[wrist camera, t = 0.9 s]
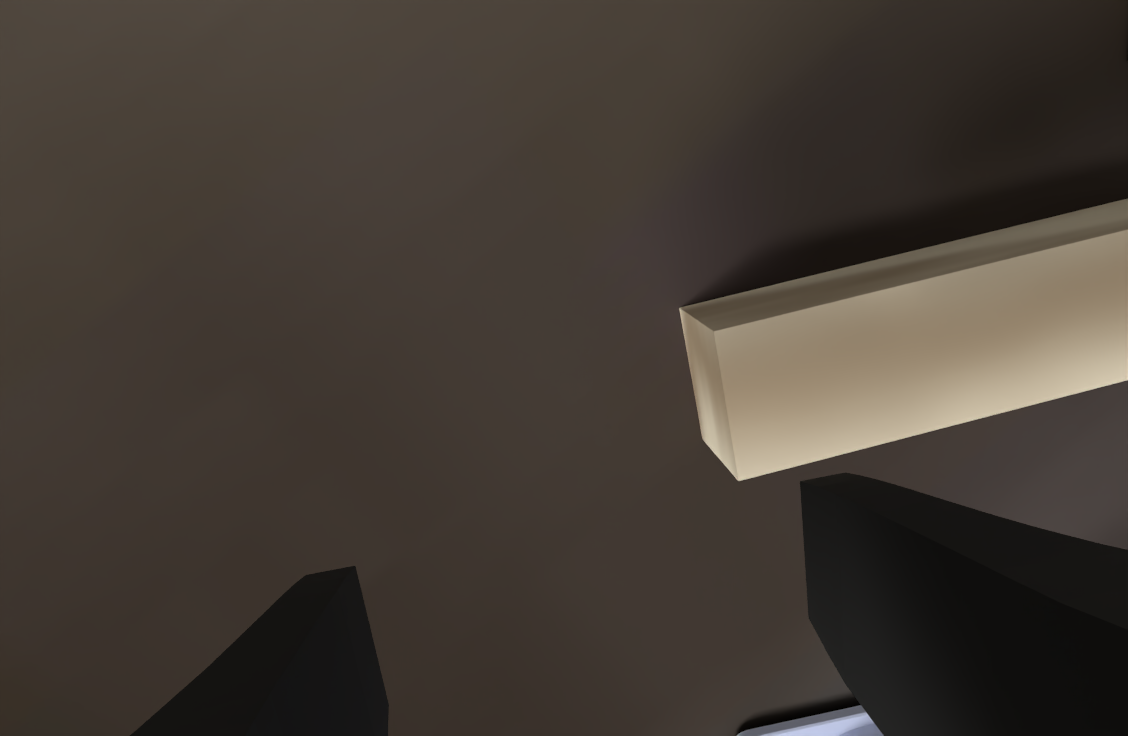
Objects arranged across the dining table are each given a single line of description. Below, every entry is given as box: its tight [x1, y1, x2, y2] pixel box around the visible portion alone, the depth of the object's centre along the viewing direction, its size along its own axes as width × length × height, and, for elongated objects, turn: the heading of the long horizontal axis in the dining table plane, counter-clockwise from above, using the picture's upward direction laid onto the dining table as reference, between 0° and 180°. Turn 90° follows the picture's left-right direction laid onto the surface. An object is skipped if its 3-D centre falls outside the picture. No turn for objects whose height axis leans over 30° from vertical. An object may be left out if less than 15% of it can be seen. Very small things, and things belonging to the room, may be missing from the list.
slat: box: [679, 199, 1128, 481], centre depth 19 cm, size 4×12×3 cm, turn 102°
